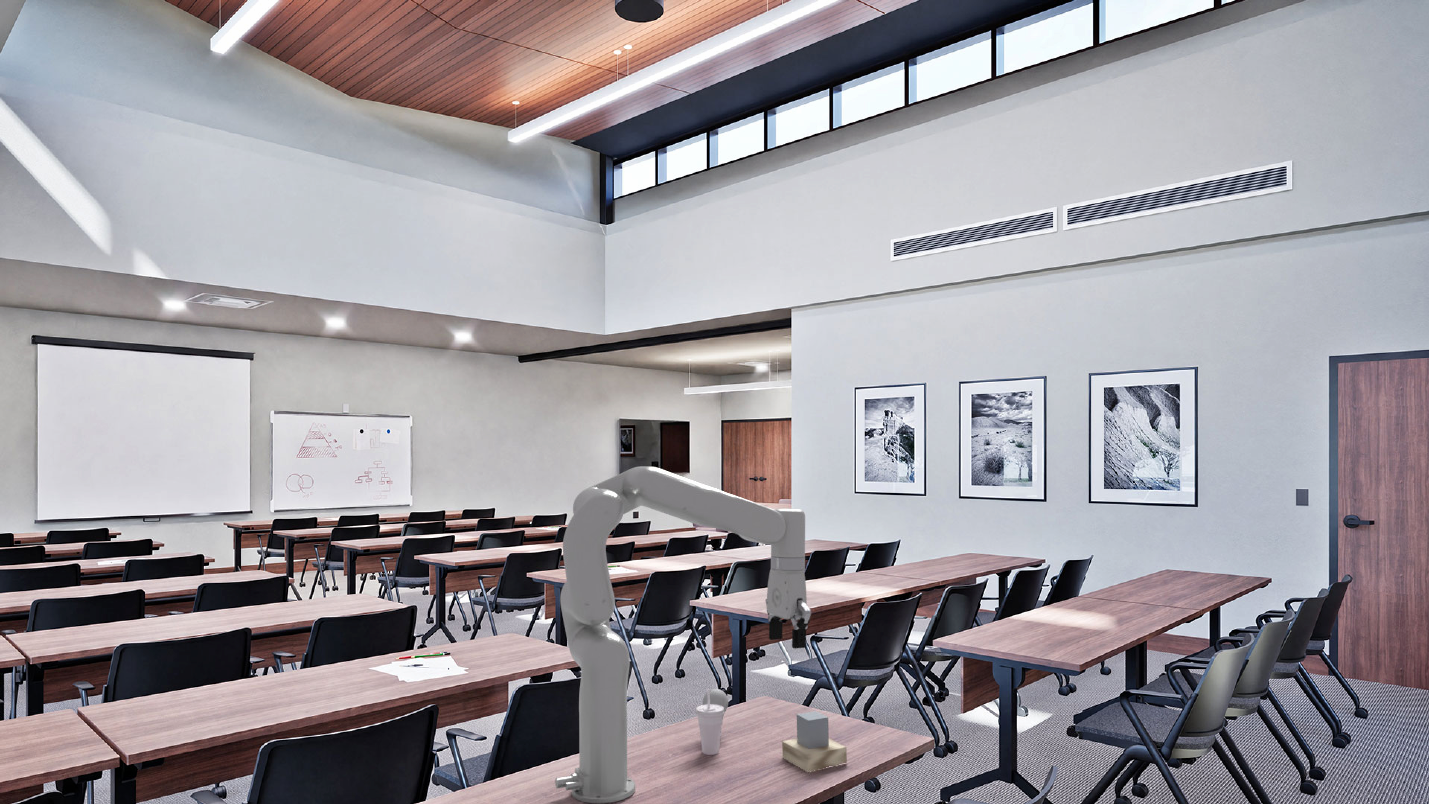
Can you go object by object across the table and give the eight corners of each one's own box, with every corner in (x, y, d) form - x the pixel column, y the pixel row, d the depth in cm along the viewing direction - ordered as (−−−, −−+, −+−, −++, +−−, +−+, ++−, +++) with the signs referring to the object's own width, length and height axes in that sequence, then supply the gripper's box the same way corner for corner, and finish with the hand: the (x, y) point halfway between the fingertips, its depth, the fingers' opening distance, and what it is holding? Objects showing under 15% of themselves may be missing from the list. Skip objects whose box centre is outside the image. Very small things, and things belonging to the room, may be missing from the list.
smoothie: (691, 754, 189) (690, 690, 190) (704, 745, 194) (704, 683, 195) (716, 758, 186) (715, 693, 187) (729, 749, 191) (728, 686, 192)
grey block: (808, 749, 181) (808, 720, 181) (797, 742, 185) (796, 714, 186) (828, 745, 183) (828, 717, 183) (816, 738, 187) (816, 711, 188)
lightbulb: (699, 734, 202) (698, 687, 203) (722, 730, 205) (721, 684, 205) (709, 742, 197) (708, 693, 197) (733, 738, 199) (732, 690, 200)
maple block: (808, 774, 177) (807, 755, 177) (782, 760, 186) (782, 741, 186) (846, 766, 181) (846, 747, 182) (820, 752, 190) (819, 734, 190)
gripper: (754, 561, 193) (752, 637, 191) (794, 569, 177) (793, 652, 176) (782, 560, 196) (781, 635, 195) (824, 568, 180) (823, 650, 179)
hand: (787, 643), depth 185 cm, fingers open, 9 cm apart
